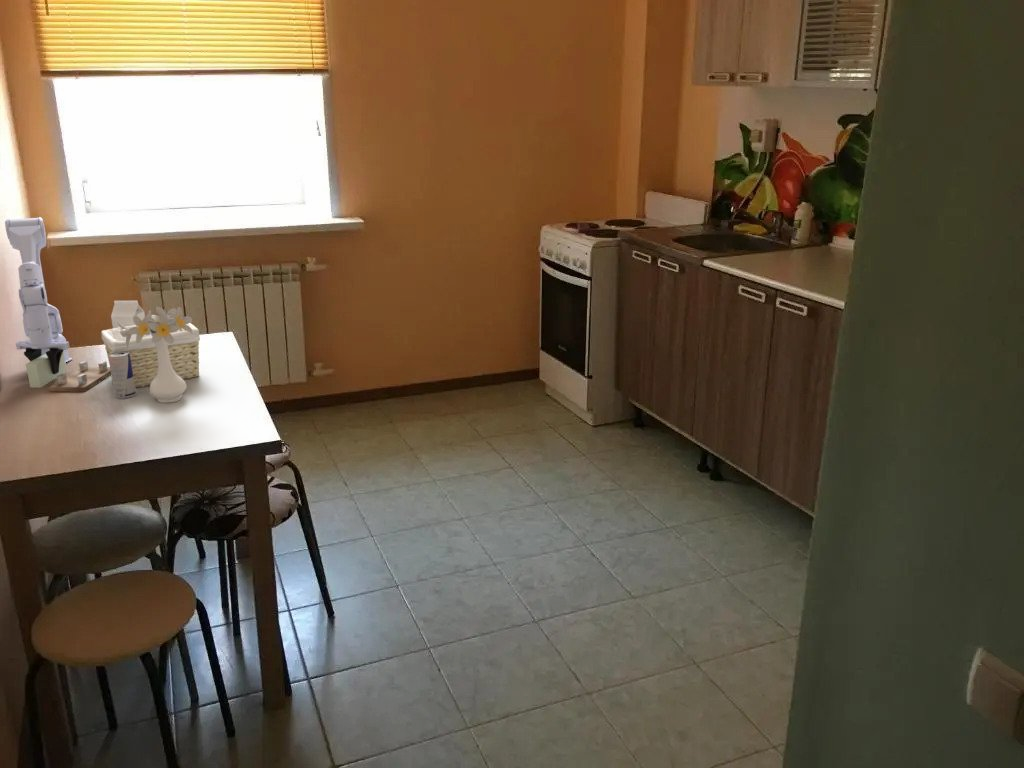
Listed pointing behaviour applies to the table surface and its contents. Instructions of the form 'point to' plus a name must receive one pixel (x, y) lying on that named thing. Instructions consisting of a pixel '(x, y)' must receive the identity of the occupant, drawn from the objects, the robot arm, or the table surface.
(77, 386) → the mount plate
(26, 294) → the robot arm
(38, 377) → the door panel
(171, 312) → the flower vase
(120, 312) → the milk carton
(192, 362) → the storage basket
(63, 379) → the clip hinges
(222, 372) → the table surface
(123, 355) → the energy drink
